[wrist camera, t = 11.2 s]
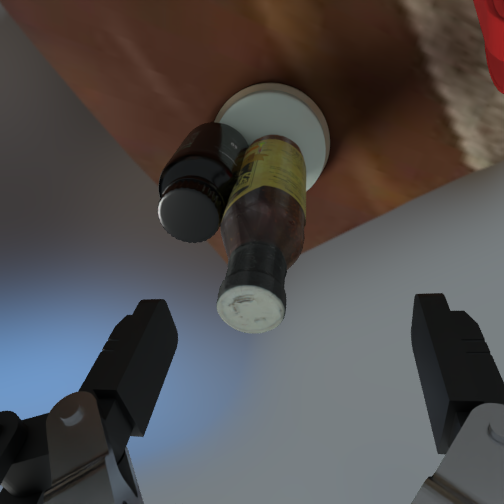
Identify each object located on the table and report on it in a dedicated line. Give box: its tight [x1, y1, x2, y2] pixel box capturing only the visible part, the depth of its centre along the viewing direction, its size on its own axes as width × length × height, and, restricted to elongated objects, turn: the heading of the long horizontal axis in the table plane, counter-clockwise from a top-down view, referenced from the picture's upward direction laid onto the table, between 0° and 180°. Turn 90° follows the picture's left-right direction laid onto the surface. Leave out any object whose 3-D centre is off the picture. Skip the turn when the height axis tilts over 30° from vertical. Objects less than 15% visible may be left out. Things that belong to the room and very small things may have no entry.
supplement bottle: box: [157, 122, 249, 243], centre depth 34 cm, size 7×7×12 cm
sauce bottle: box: [217, 135, 306, 333], centre depth 30 cm, size 6×6×20 cm
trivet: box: [215, 82, 330, 191], centre depth 39 cm, size 12×12×2 cm
